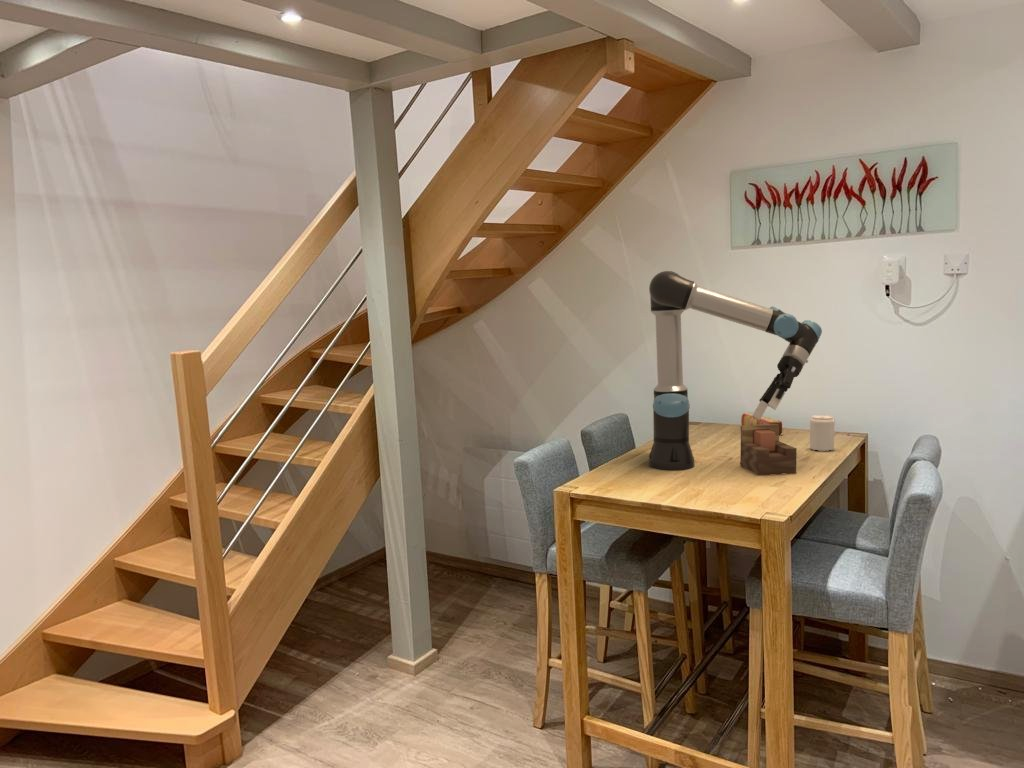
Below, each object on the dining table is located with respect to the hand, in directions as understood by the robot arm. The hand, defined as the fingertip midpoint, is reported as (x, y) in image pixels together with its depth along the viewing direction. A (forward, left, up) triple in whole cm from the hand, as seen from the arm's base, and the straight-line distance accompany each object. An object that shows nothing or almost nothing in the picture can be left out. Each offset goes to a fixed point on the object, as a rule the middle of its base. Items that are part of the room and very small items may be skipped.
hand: (763, 412), depth 261 cm
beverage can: (+1, +38, -18) cm, 42 cm away
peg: (-4, +3, -12) cm, 13 cm away
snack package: (-33, +56, -19) cm, 68 cm away
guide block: (+2, -1, -18) cm, 18 cm away
